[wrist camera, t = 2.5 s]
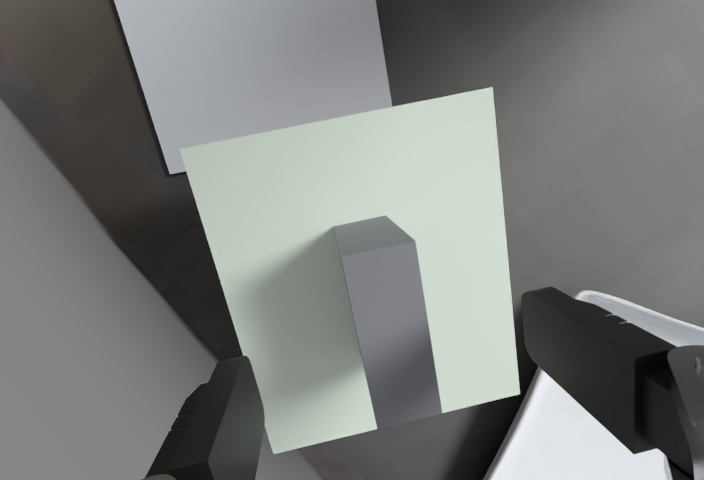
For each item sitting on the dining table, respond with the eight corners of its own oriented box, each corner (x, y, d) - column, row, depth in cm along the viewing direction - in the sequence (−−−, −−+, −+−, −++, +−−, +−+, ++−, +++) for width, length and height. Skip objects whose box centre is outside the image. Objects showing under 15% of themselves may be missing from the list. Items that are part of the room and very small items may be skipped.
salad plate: (447, 498, 30) (463, 540, 27) (548, 271, 26) (582, 288, 23) (648, 533, 34) (684, 574, 30) (766, 337, 30) (823, 360, 26)
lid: (467, 96, 16) (574, 55, 9) (495, 365, 20) (588, 474, 13) (199, 150, 16) (112, 145, 9) (278, 417, 19) (258, 559, 12)
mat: (348, -163, 19) (348, -170, 18) (394, 129, 22) (395, 128, 22) (78, -121, 18) (73, -127, 18) (172, 173, 22) (169, 174, 21)
